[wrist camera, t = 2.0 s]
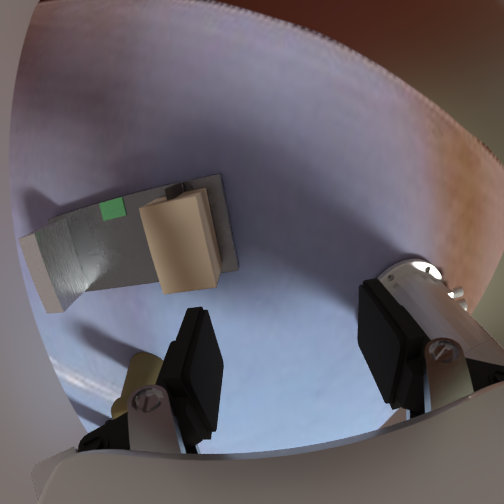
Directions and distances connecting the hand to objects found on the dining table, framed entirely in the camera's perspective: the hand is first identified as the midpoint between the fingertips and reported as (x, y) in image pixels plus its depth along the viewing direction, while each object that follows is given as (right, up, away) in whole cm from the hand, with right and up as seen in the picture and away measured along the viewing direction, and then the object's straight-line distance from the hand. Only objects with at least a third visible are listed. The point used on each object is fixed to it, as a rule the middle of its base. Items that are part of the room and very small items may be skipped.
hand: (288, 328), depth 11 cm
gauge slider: (-8, +5, +17) cm, 19 cm away
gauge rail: (-15, +5, +19) cm, 24 cm away
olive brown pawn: (-16, -14, +26) cm, 34 cm away
